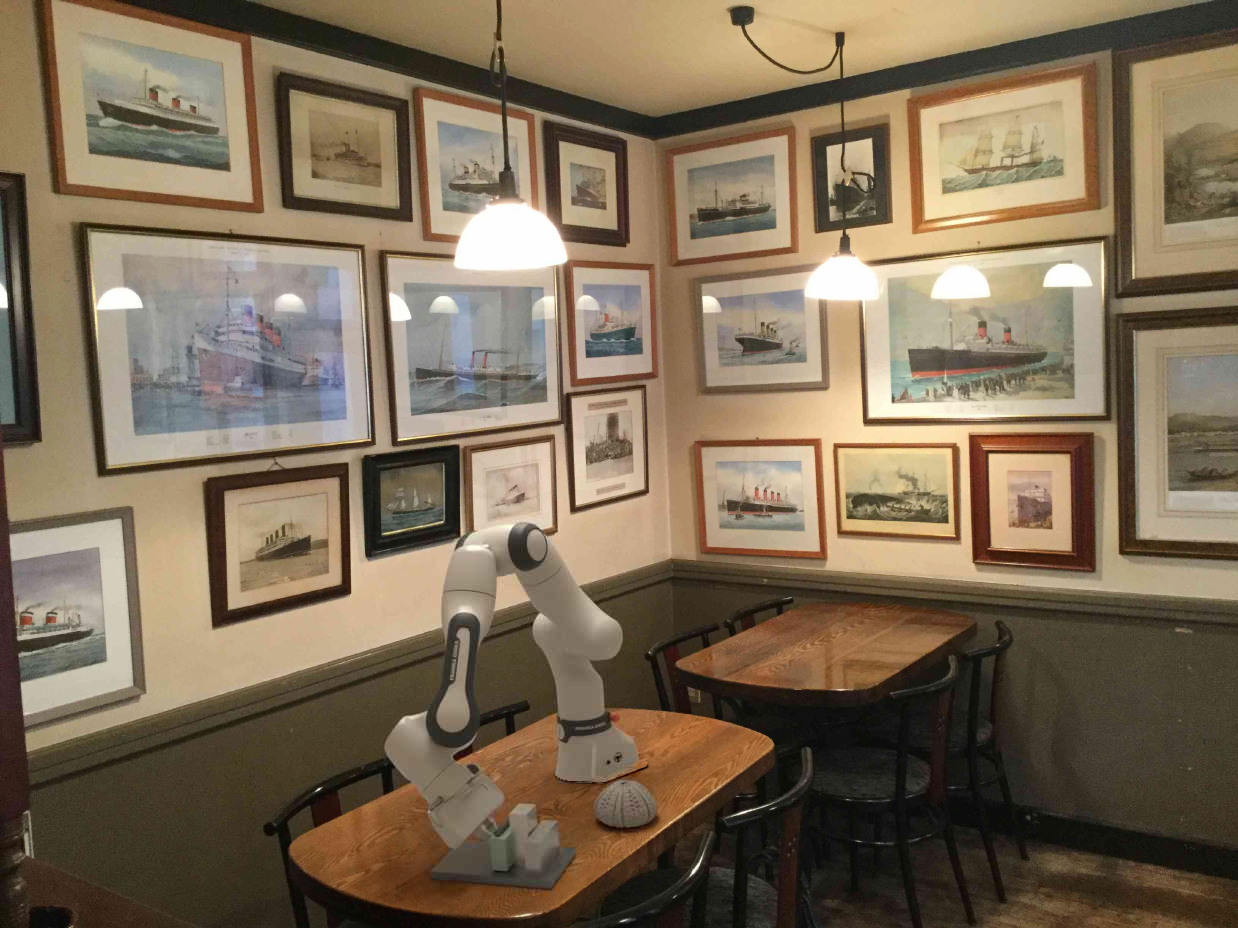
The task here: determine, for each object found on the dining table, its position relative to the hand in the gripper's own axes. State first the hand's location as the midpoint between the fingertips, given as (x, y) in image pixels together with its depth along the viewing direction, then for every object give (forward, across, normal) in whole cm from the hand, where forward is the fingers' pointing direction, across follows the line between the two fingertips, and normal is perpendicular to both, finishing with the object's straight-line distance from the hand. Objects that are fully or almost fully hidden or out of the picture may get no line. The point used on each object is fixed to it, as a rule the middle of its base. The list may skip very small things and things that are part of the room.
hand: (498, 841), depth 191 cm
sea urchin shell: (+16, +25, -9) cm, 31 cm away
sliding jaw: (+4, 0, +1) cm, 4 cm away
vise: (+4, 0, +3) cm, 5 cm away
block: (+6, 0, -2) cm, 6 cm away
